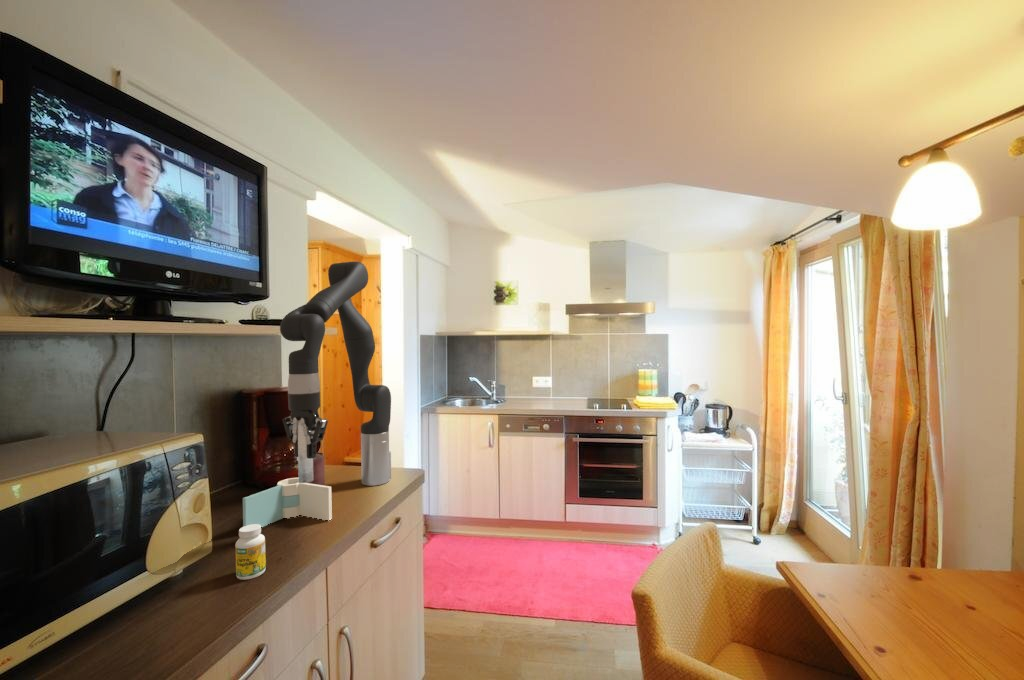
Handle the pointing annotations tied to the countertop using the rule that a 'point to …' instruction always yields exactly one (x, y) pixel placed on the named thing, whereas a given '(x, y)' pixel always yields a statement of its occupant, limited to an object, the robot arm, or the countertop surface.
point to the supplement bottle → (250, 552)
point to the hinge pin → (304, 457)
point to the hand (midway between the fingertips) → (305, 456)
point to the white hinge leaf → (307, 499)
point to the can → (318, 470)
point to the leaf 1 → (267, 506)
